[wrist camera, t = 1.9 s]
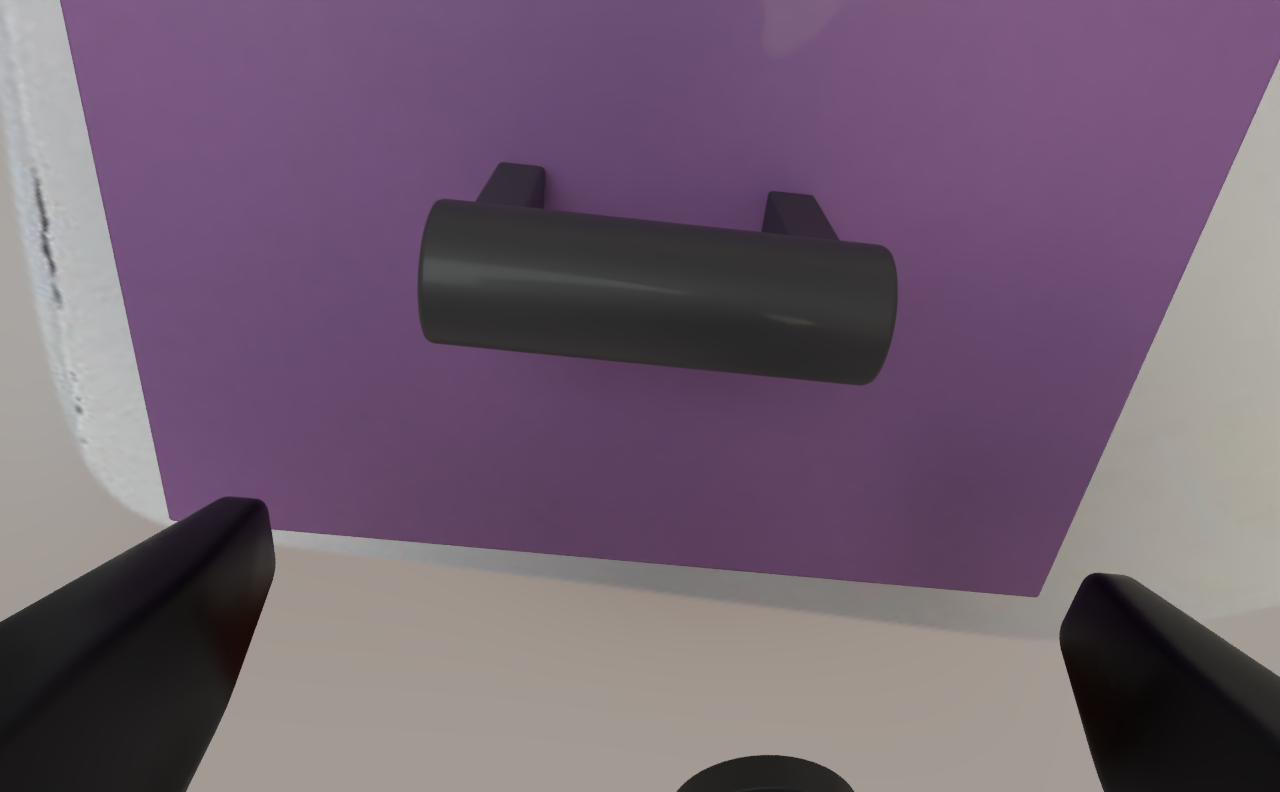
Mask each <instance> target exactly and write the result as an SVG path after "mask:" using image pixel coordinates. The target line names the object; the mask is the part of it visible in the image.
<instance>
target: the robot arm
mask: <svg viewBox="0 0 1280 792" xmlns="http://www.w3.org/2000/svg"><path fill="white" fill-rule="evenodd" d="M274 572H275V552H274V545H273V538H272V531H271V524H270V517H269V511H268V508H267V506H266V504H265V502H263V501H262V500H260V499H257V498H246V497H234V496H225V497H222V498H220V499H217V500H216V501H214V502H212V503H210V504H209V505H207V506H205V507H203V508H201V509H200V510H198V511H196V512H194V513H193V514H191V515H189V516H187V517H185V518H184V519H182V520H180V521H178V522H177V523H175V524H173V525H171V526H170V527H168V528H166V529H164V530H162V531H161V532H159V533H157V534H155V535H154V536H152V537H150V538H148V539H147V540H145V541H143V542H141V543H140V544H138V545H136V546H134V547H132V548H131V549H129V550H127V551H125V552H124V553H122V554H120V555H118V556H116V557H115V558H113V559H111V560H109V561H108V562H106V563H104V564H102V565H101V566H99V567H97V568H95V569H94V570H92V571H90V572H88V573H86V574H85V575H83V576H81V577H79V578H78V579H76V580H74V581H72V582H70V583H69V584H67V585H65V586H63V587H62V588H60V589H58V590H56V591H54V592H53V593H51V594H49V595H48V596H46V597H44V598H42V599H40V600H39V601H37V602H35V603H34V604H31V605H30V606H28V607H26V608H24V609H23V610H21V611H19V612H17V613H16V614H14V615H12V616H10V617H8V618H7V619H5V620H3V621H1V622H0V792H186V790H187V788H188V786H189V784H190V782H191V780H192V778H193V776H194V774H195V772H196V770H197V768H198V766H199V764H200V762H201V760H202V758H203V756H204V754H205V752H206V750H207V748H208V746H209V744H210V741H211V740H212V737H213V736H214V733H215V731H216V729H217V727H218V725H219V723H220V721H221V718H222V716H223V714H224V712H225V710H226V707H227V705H228V702H229V700H230V697H231V695H232V692H233V689H234V687H235V684H236V681H237V678H238V675H239V672H240V670H241V667H242V664H243V662H244V659H245V656H246V653H247V650H248V648H249V645H250V642H251V639H252V636H253V634H254V631H255V628H256V625H257V623H258V620H259V617H260V614H261V611H262V608H263V606H264V603H265V600H266V597H267V595H268V591H269V589H270V586H271V583H272V580H273V576H274ZM1059 639H1060V646H1061V651H1062V654H1063V658H1064V661H1065V665H1066V668H1067V672H1068V675H1069V679H1070V682H1071V686H1072V689H1073V693H1074V696H1075V700H1076V703H1077V706H1078V710H1079V714H1080V717H1081V720H1082V724H1083V728H1084V731H1085V734H1086V738H1087V742H1088V745H1089V748H1090V752H1091V755H1092V758H1093V761H1094V764H1095V768H1096V770H1097V774H1098V777H1099V779H1100V782H1101V784H1102V787H1103V790H1104V792H1280V677H1279V676H1277V675H1276V674H1274V673H1273V672H1272V671H1270V670H1269V669H1267V668H1266V667H1264V666H1263V665H1261V664H1259V663H1258V662H1256V661H1255V660H1254V659H1252V658H1251V657H1249V656H1248V655H1246V654H1245V653H1243V652H1242V651H1240V650H1239V649H1237V648H1236V647H1234V646H1233V645H1231V644H1230V643H1228V642H1227V641H1225V640H1224V639H1222V638H1221V637H1219V636H1218V635H1217V634H1215V633H1214V632H1212V631H1210V630H1209V629H1208V628H1206V627H1205V626H1203V625H1202V624H1200V623H1199V622H1197V621H1196V620H1194V619H1193V618H1191V617H1190V616H1188V615H1187V614H1185V613H1184V612H1182V611H1181V610H1179V609H1178V608H1176V607H1175V606H1173V605H1172V604H1170V603H1169V602H1167V601H1166V600H1164V599H1163V598H1162V597H1160V596H1159V595H1157V594H1156V593H1154V592H1153V591H1151V590H1150V589H1148V588H1147V587H1145V586H1144V585H1142V584H1141V583H1139V582H1138V581H1136V580H1135V579H1133V578H1131V577H1128V576H1125V575H1117V574H1105V573H1093V574H1090V575H1088V576H1087V577H1086V578H1085V579H1084V580H1083V582H1082V583H1081V586H1080V588H1079V590H1078V592H1077V594H1076V596H1075V598H1074V600H1073V602H1072V604H1071V606H1070V608H1069V610H1068V612H1067V614H1066V616H1065V618H1064V620H1063V622H1062V625H1061V629H1060V638H1059Z"/></svg>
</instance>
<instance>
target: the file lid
mask: <svg viewBox="0 0 1280 792" xmlns="http://www.w3.org/2000/svg"><path fill="white" fill-rule="evenodd" d="M60 2H61V7H62V12H63V16H64V21H65V26H66V31H67V35H68V40H69V45H70V50H71V54H72V59H73V64H74V68H75V73H76V78H77V83H78V87H79V92H80V97H81V102H82V106H83V111H84V116H85V121H86V125H87V130H88V135H89V139H90V144H91V149H92V154H93V158H94V163H95V168H96V173H97V177H98V182H99V187H100V191H101V196H102V201H103V206H104V210H105V215H106V220H107V225H108V229H109V234H110V239H111V243H112V248H113V253H114V258H115V262H116V267H117V272H118V277H119V281H120V286H121V291H122V295H123V300H124V305H125V310H126V314H127V319H128V324H129V329H130V333H131V338H132V343H133V347H134V352H135V357H136V362H137V366H138V371H139V376H140V381H141V385H142V390H143V395H144V399H145V404H146V409H147V414H148V418H149V423H150V428H151V433H152V437H153V442H154V447H155V451H156V456H157V461H158V466H159V470H160V475H161V480H162V485H163V489H164V494H165V499H166V503H167V508H168V513H169V518H170V519H171V520H173V521H180V520H182V519H184V518H185V517H187V516H189V515H191V514H193V513H194V512H196V511H198V510H200V509H201V508H203V507H205V506H207V505H209V504H210V503H212V502H214V501H216V500H217V499H220V498H222V497H225V496H234V497H246V498H257V499H260V500H262V501H263V502H265V504H266V506H267V508H268V511H269V517H270V524H271V529H274V530H286V531H297V532H308V533H319V534H331V535H342V536H353V537H364V538H376V539H387V540H398V541H409V542H420V543H432V544H443V545H454V546H465V547H477V548H488V549H499V550H510V551H522V552H533V553H544V554H555V555H566V556H578V557H589V558H600V559H611V560H623V561H634V562H645V563H656V564H667V565H679V566H690V567H701V568H712V569H724V570H735V571H746V572H757V573H769V574H780V575H791V576H802V577H813V578H825V579H836V580H847V581H858V582H870V583H881V584H892V585H903V586H914V587H926V588H937V589H948V590H959V591H971V592H982V593H993V594H1004V595H1016V596H1027V597H1038V596H1039V594H1040V591H1041V589H1042V587H1043V585H1044V583H1045V580H1046V578H1047V576H1048V574H1049V571H1050V569H1051V567H1052V565H1053V563H1054V560H1055V558H1056V556H1057V554H1058V551H1059V549H1060V547H1061V545H1062V542H1063V540H1064V538H1065V536H1066V534H1067V531H1068V529H1069V527H1070V525H1071V522H1072V520H1073V518H1074V516H1075V514H1076V511H1077V509H1078V507H1079V505H1080V502H1081V500H1082V498H1083V496H1084V493H1085V491H1086V489H1087V487H1088V485H1089V482H1090V480H1091V478H1092V476H1093V473H1094V471H1095V469H1096V467H1097V465H1098V462H1099V460H1100V458H1101V456H1102V453H1103V451H1104V449H1105V447H1106V444H1107V442H1108V440H1109V438H1110V436H1111V433H1112V431H1113V429H1114V427H1115V424H1116V422H1117V420H1118V418H1119V416H1120V413H1121V411H1122V409H1123V407H1124V404H1125V402H1126V400H1127V398H1128V395H1129V393H1130V391H1131V389H1132V387H1133V384H1134V382H1135V380H1136V378H1137V375H1138V373H1139V371H1140V369H1141V367H1142V364H1143V362H1144V360H1145V358H1146V355H1147V353H1148V351H1149V349H1150V346H1151V344H1152V342H1153V340H1154V338H1155V335H1156V333H1157V331H1158V329H1159V326H1160V324H1161V322H1162V320H1163V318H1164V315H1165V313H1166V311H1167V309H1168V306H1169V304H1170V302H1171V300H1172V297H1173V295H1174V293H1175V291H1176V289H1177V286H1178V284H1179V282H1180V280H1181V277H1182V275H1183V273H1184V271H1185V269H1186V266H1187V264H1188V262H1189V260H1190V257H1191V255H1192V253H1193V251H1194V248H1195V246H1196V244H1197V242H1198V240H1199V237H1200V235H1201V233H1202V231H1203V228H1204V226H1205V224H1206V222H1207V220H1208V217H1209V215H1210V213H1211V211H1212V208H1213V206H1214V204H1215V202H1216V199H1217V197H1218V195H1219V193H1220V191H1221V188H1222V186H1223V184H1224V182H1225V179H1226V177H1227V175H1228V173H1229V170H1230V168H1231V166H1232V164H1233V162H1234V159H1235V157H1236V155H1237V153H1238V150H1239V148H1240V146H1241V144H1242V142H1243V139H1244V137H1245V135H1246V133H1247V130H1248V128H1249V126H1250V124H1251V121H1252V119H1253V117H1254V115H1255V113H1256V110H1257V108H1258V106H1259V104H1260V101H1261V99H1262V97H1263V95H1264V93H1265V90H1266V88H1267V86H1268V84H1269V81H1270V79H1271V77H1272V75H1273V72H1274V70H1275V68H1276V66H1277V64H1278V61H1279V59H1280V0H60Z"/></svg>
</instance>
